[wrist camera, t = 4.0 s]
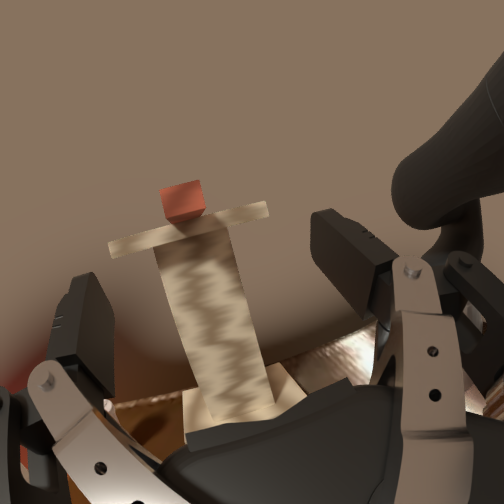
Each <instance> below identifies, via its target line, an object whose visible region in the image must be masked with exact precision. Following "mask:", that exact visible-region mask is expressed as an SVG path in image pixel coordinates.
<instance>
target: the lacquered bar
mask: <svg viewBox="0 0 504 504" xmlns="http://www.w3.org/2000/svg"><path fill="white" fill-rule="evenodd" d="M159 191H160V195H161V199H162V204H163V208H164V213H165V216H166V219H167V220H168V221H169V222H170V223H171V224H174V223H178V222H182V221H185V220H189V219H193V218H197V217H200V216H201V215H202V213H203V212H204V210H205V208H206V206H205V202H204V197H203V194H202V190H201V185H200V181H199V180H195V181H191V182H187V183H183V184H179V185H176V186H172V187H168V188H164V189H161V190H159Z"/></svg>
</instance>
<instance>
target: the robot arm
mask: <svg viewBox="0 0 504 504" xmlns="http://www.w3.org/2000/svg"><path fill="white" fill-rule="evenodd" d="M503 192H504V52H503V53H502V55H501V56H500V57H499V58H498V60H497V61H496V62H495V63H494V65H493V66H492V67H491V68H490V70H489V71H488V73H487V74H486V75H485V77H484V78H483V80H482V81H481V82H480V84H479V85H478V86H477V88H476V89H475V90H474V92H473V93H472V94H471V95H470V96H469V97H468V98H467V99H466V100H465V102H464V103H463V104H462V105H461V106H460V107H459V108H458V109H457V111H456V112H455V113H454V114H453V115H452V116H451V117H450V119H449V120H448V121H447V122H446V123H445V124H444V126H443V127H442V128H441V129H440V130H439V131H438V132H437V133H436V134H435V135H434V136H433V137H432V138H430V139H429V140H428V141H427V142H426V143H424V144H423V145H422V146H421V147H419V148H418V149H417V150H415V151H414V152H413V153H411V154H410V155H409V156H407V157H406V158H405V159H404V160H403V161H401V162H400V164H399V165H398V167H397V168H396V170H395V173H394V176H393V180H392V187H391V195H392V201H393V205H394V208H395V210H396V212H397V214H398V215H399V217H400V218H401V219H402V220H403V221H404V222H405V223H406V224H407V225H409V226H411V227H412V228H415V229H418V230H429V229H434V228H438V227H441V234H440V236H439V238H438V240H437V241H436V243H435V244H434V246H433V247H432V248H431V249H429V250H428V251H427V252H426V253H425V254H424V255H423V256H422V257H421V258H418V257H415V256H409V255H406V256H399V255H397V254H396V253H395V252H394V251H393V250H391V249H390V248H389V247H388V246H387V245H385V244H384V243H383V242H382V241H381V240H379V239H378V238H377V237H376V238H375V236H374V235H373V234H372V233H371V232H368V230H367V229H366V228H365V227H363V226H362V225H361V224H359V223H358V222H355V221H353V220H350V219H348V218H344V217H343V216H342V215H340V214H339V213H338V212H336V211H335V210H334V209H332V208H330V209H326V210H322V211H318V212H314V213H312V215H311V234H310V237H311V238H310V239H311V241H310V250H311V255H312V258H313V260H314V262H315V264H316V265H317V266H318V267H319V268H320V270H321V271H322V272H323V273H324V274H325V276H326V277H327V278H328V279H329V280H330V281H331V283H332V284H333V285H334V286H335V287H336V289H337V290H338V291H339V292H340V293H341V294H342V296H343V297H344V298H345V299H346V301H347V302H348V303H349V304H350V305H351V307H352V308H353V309H354V310H355V311H356V313H357V314H358V315H359V316H360V318H361V319H362V320H366V319H368V318H370V317H372V316H375V317H376V318H377V322H376V330H375V349H374V363H373V371H372V376H371V379H370V383H369V385H356V386H352V384H351V383H350V381H349V379H348V378H347V377H346V378H344V379H342V380H340V381H338V382H336V383H334V384H331V385H329V386H327V387H325V388H322V389H320V390H318V391H315V392H313V393H311V394H309V395H308V396H306V397H305V398H304V399H302V400H301V401H300V402H298V403H297V404H295V405H294V406H292V407H291V408H289V409H288V410H287V411H285V412H284V413H282V414H281V415H279V416H278V417H276V418H273V419H269V420H260V421H249V422H236V423H224V424H221V425H217V426H213V427H210V428H206V429H202V430H198V431H193V432H189V433H185V437H186V441H187V444H186V445H184V446H182V447H180V448H179V449H177V450H176V451H174V452H173V453H172V454H170V455H169V456H168V457H167V458H166V459H165V460H164V461H163V462H161V461H160V460H159V459H157V458H156V457H155V456H154V455H152V454H151V453H150V452H149V451H147V450H146V449H145V448H144V447H142V446H141V445H140V444H139V443H138V442H137V441H136V440H135V439H134V438H133V437H132V436H131V435H130V434H129V433H128V432H127V431H126V430H125V429H124V428H123V427H122V426H121V425H120V424H119V423H118V422H117V421H116V420H115V419H114V418H113V417H112V416H111V415H110V414H109V413H108V411H107V410H105V409H104V399H108V398H114V397H115V384H114V325H115V318H114V313H113V309H112V307H111V304H110V302H109V300H108V299H107V297H106V295H105V293H104V291H103V289H102V287H101V285H100V283H99V281H98V279H97V277H96V276H95V274H94V273H93V272H89V273H86V274H83V275H80V276H76V277H74V278H73V279H72V282H71V285H70V289H69V292H68V294H65V295H64V297H63V298H62V300H61V301H60V303H59V304H58V306H57V309H56V313H55V319H54V321H53V326H52V327H53V329H52V330H51V335H50V339H49V344H48V350H47V355H46V360H45V361H44V362H42V363H40V364H39V365H38V366H36V368H35V369H34V370H33V371H32V373H31V374H30V377H29V380H28V387H26V388H25V389H23V390H21V391H19V392H17V393H15V394H13V395H12V394H11V393H10V392H9V391H8V390H7V389H5V388H4V387H1V386H0V504H72V503H71V497H70V492H69V486H68V479H67V473H68V474H69V476H70V477H71V478H72V480H73V481H74V482H75V484H76V485H77V486H78V487H79V489H80V490H81V491H82V492H83V494H84V495H85V496H86V497H87V499H88V500H89V501H90V502H91V503H92V504H504V284H503V283H502V282H501V281H500V280H499V279H498V278H497V277H496V276H495V275H494V274H493V273H492V272H491V271H490V270H488V269H487V268H486V267H485V266H484V265H483V264H482V263H481V258H482V254H483V248H484V239H483V226H482V215H481V206H480V198H482V197H486V196H490V195H495V194H499V193H503ZM481 314H482V315H483V316H484V318H485V319H486V322H487V330H486V332H485V334H484V335H483V334H482V326H483V320H482V318H481ZM473 383H474V384H475V386H476V387H477V388H478V390H479V391H480V393H481V394H482V396H483V397H484V398H485V400H486V406H485V407H484V408H483V416H482V415H478V414H475V413H471V412H467V411H465V393H464V392H465V391H466V390H468V389H469V388H470V387H471V386H472V384H473ZM20 445H22V446H24V447H25V448H27V451H28V469H29V482H30V484H29V483H28V482H27V481H26V480H25V479H24V477H23V475H22V473H21V464H20ZM66 471H67V472H66Z"/></svg>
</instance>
